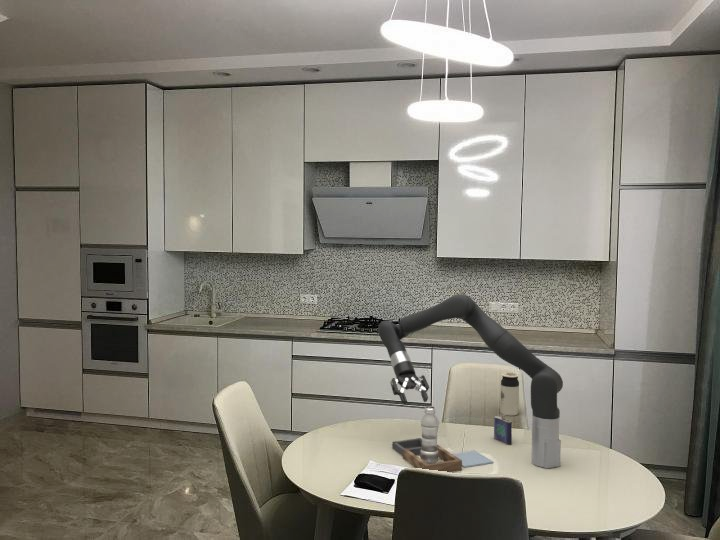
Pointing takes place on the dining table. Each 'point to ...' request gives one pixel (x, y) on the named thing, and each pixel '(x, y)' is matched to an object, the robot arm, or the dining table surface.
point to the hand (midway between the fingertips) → (415, 402)
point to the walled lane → (448, 464)
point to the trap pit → (408, 446)
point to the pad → (472, 459)
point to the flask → (503, 429)
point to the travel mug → (509, 394)
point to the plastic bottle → (429, 436)
